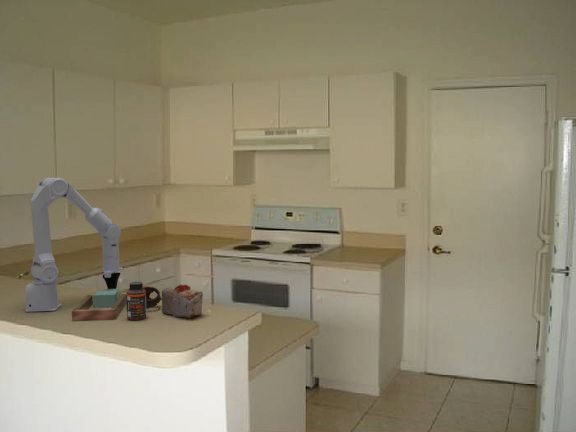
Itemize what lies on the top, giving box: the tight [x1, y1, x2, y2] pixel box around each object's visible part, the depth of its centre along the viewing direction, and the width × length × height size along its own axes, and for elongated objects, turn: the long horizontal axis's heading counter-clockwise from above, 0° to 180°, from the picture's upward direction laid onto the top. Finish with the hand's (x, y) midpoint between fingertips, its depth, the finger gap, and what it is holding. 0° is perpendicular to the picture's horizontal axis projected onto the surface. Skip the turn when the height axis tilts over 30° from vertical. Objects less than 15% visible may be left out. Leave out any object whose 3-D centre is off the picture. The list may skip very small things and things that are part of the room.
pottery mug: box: [126, 285, 162, 310], centre depth 194 cm, size 12×10×8 cm
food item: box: [161, 283, 204, 319], centre depth 185 cm, size 14×8×10 cm, turn 57°
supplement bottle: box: [125, 281, 147, 321], centre depth 181 cm, size 6×6×11 cm
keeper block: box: [93, 288, 121, 308], centre depth 200 cm, size 7×9×4 cm
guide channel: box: [71, 293, 127, 322], centre depth 190 cm, size 13×22×3 cm, turn 6°
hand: (112, 293), depth 209 cm, fingers closed
